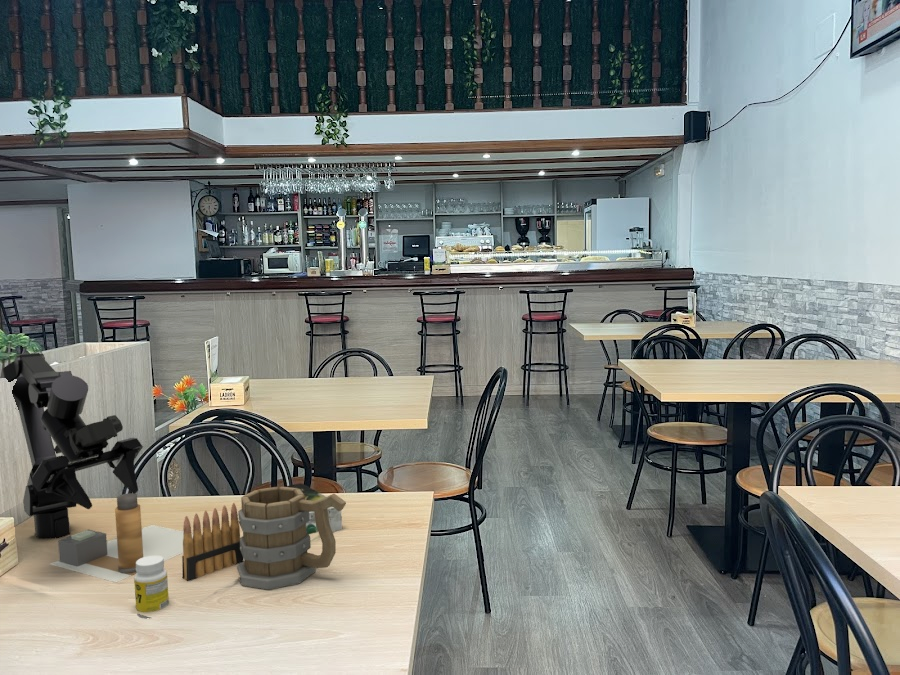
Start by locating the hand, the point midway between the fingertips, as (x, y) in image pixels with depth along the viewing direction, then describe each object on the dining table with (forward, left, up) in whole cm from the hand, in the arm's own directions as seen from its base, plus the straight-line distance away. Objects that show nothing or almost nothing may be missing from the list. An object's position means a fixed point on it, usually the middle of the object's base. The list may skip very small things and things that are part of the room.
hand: (114, 499), depth 127 cm
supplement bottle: (+19, -8, -13) cm, 24 cm away
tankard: (+30, +12, -13) cm, 35 cm away
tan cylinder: (+4, 0, -12) cm, 12 cm away
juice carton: (+14, +34, -14) cm, 39 cm away
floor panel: (-3, +6, -13) cm, 15 cm away
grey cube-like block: (-9, -1, -12) cm, 15 cm away
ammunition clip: (+17, +6, -13) cm, 23 cm away
